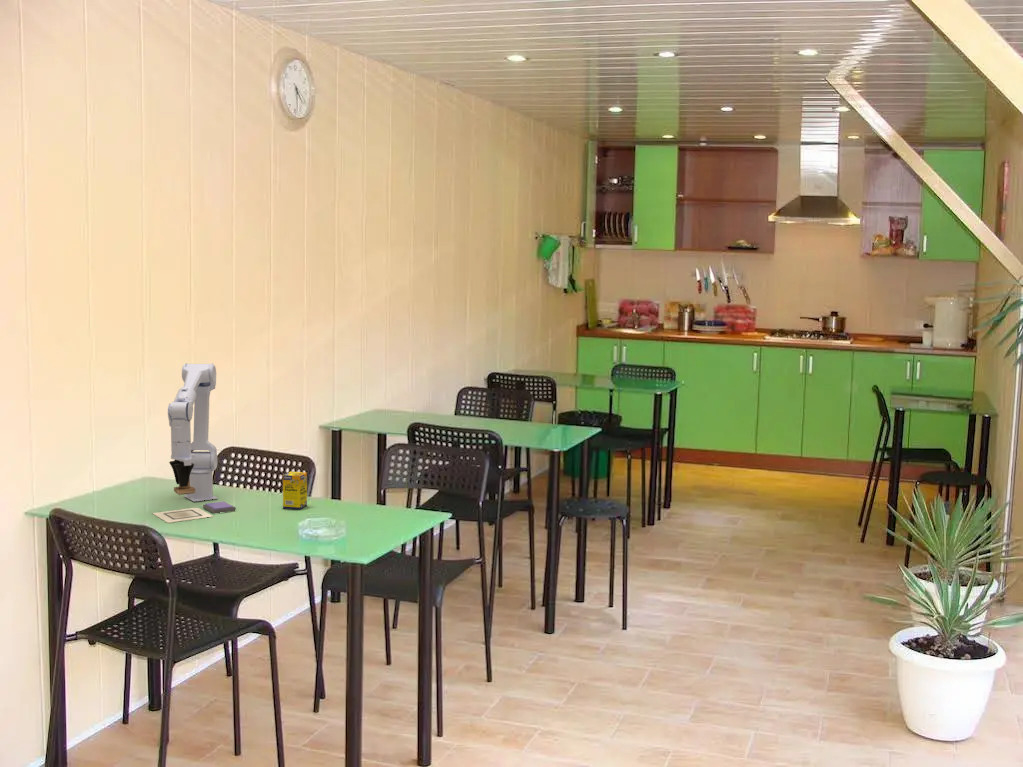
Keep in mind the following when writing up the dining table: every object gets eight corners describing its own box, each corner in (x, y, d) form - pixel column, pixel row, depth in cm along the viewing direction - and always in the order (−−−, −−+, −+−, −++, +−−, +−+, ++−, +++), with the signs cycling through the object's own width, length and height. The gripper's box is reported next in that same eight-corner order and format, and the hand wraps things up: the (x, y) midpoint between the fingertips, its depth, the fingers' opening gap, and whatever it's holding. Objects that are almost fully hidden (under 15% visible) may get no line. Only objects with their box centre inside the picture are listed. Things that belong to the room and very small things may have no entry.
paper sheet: (152, 513, 349) (152, 512, 349) (196, 508, 357) (196, 507, 357) (167, 523, 338) (167, 522, 338) (213, 516, 346) (213, 515, 346)
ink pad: (203, 508, 357) (203, 503, 357) (224, 505, 361) (224, 500, 361) (213, 514, 350) (213, 509, 350) (235, 511, 354) (235, 506, 354)
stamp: (174, 492, 348) (173, 469, 347) (190, 490, 351) (189, 467, 350) (179, 495, 344) (178, 472, 343) (195, 493, 347) (194, 470, 346)
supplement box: (300, 510, 356) (300, 475, 355) (282, 509, 357) (282, 474, 356) (307, 506, 362) (307, 472, 361) (289, 505, 363) (289, 471, 362)
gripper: (201, 443, 341) (202, 488, 343) (187, 436, 353) (188, 479, 355) (177, 445, 337) (178, 490, 339) (164, 438, 350) (165, 481, 351)
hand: (182, 485), depth 347 cm, fingers closed on stamp, 3 cm apart
